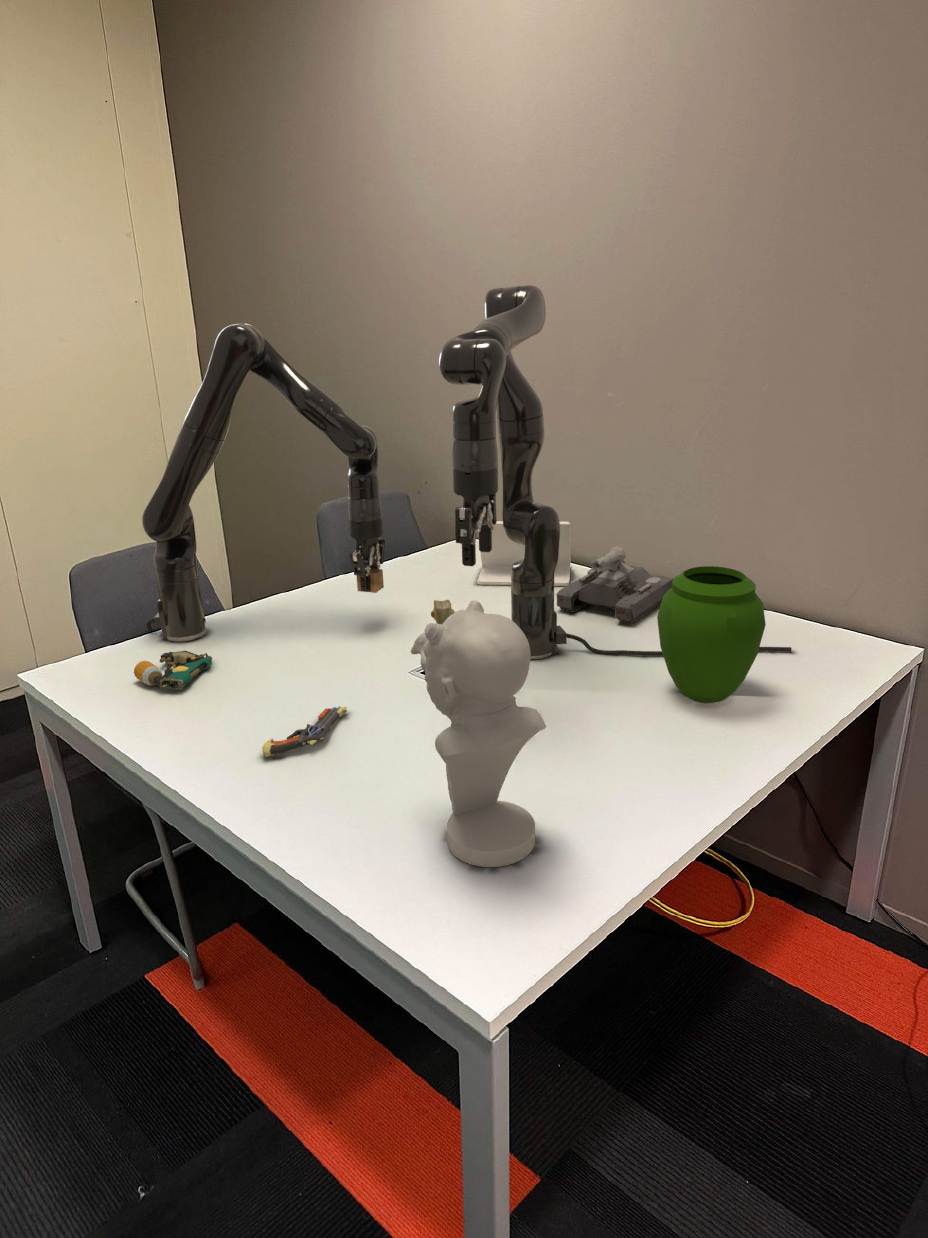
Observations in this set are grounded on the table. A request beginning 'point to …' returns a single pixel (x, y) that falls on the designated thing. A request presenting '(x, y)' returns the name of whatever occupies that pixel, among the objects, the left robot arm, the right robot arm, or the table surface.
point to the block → (373, 580)
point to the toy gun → (305, 733)
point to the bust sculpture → (481, 729)
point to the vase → (710, 631)
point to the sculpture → (441, 611)
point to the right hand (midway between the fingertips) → (477, 558)
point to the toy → (615, 588)
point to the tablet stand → (519, 558)
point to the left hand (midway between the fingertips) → (370, 587)
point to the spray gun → (172, 669)
